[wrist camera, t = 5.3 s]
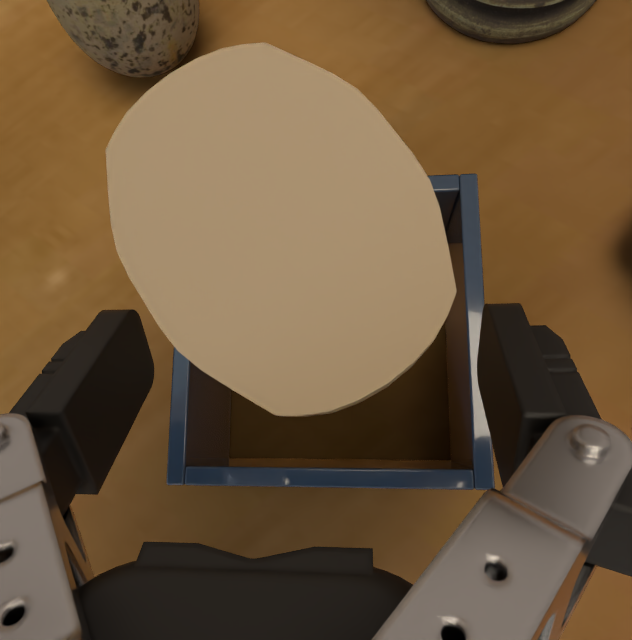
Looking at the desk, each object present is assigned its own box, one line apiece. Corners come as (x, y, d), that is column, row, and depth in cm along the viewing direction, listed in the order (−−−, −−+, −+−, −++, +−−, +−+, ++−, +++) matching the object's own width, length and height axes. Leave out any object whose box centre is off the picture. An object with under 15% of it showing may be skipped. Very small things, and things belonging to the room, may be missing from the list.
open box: (214, 472, 23) (165, 485, 18) (224, 238, 25) (182, 185, 20) (466, 476, 22) (495, 490, 17) (455, 230, 24) (477, 172, 19)
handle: (332, 446, 23) (251, 477, 8) (249, 320, 24) (52, 152, 9) (430, 379, 23) (522, 290, 8) (341, 257, 24) (286, -5, 10)
